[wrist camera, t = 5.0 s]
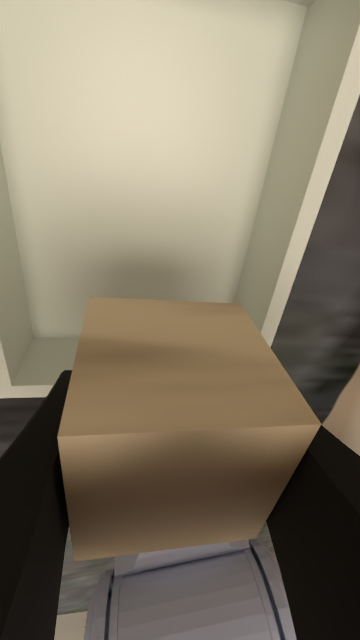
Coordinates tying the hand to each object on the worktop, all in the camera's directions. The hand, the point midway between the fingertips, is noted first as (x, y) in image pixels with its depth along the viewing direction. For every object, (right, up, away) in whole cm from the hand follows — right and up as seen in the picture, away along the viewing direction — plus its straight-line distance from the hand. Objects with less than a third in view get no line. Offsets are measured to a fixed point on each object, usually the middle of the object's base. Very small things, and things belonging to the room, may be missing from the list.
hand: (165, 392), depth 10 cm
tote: (-2, +9, +6) cm, 10 cm away
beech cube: (0, +1, +1) cm, 2 cm away
